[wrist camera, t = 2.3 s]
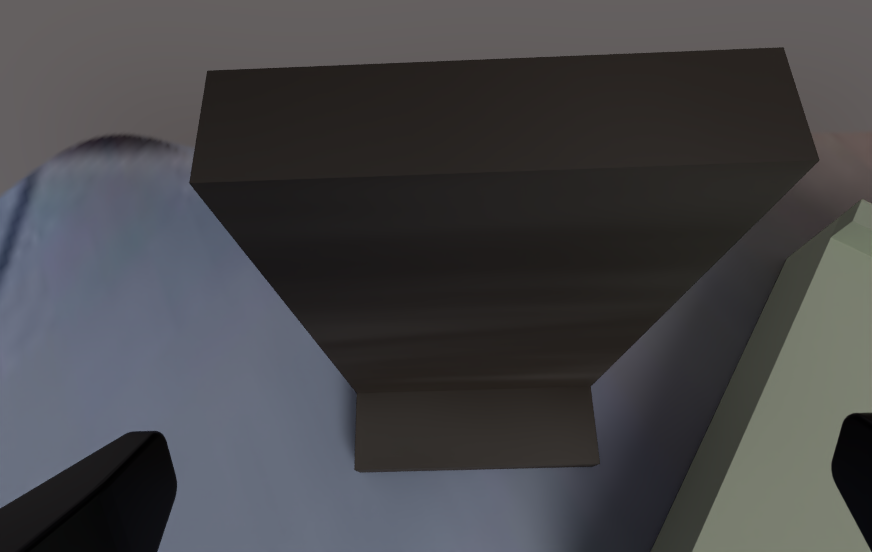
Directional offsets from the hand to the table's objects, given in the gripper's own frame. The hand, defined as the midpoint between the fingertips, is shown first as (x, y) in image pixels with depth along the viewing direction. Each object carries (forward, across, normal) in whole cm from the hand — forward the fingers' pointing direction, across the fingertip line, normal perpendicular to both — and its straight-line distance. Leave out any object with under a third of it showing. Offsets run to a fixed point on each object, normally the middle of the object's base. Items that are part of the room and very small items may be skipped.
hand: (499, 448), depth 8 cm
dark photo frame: (+10, 0, +5) cm, 11 cm away
